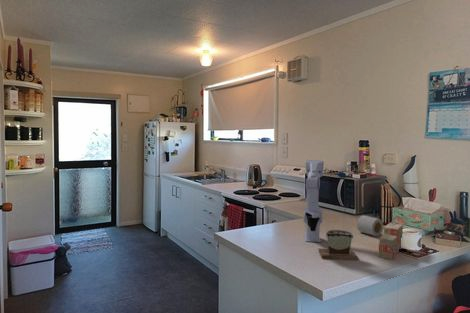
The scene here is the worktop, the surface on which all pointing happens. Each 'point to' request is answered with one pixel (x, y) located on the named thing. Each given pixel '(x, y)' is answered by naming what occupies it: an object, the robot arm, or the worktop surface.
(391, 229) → the stack of blocks
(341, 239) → the food container
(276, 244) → the worktop surface
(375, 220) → the toilet paper
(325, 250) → the walnut base
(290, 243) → the worktop surface
